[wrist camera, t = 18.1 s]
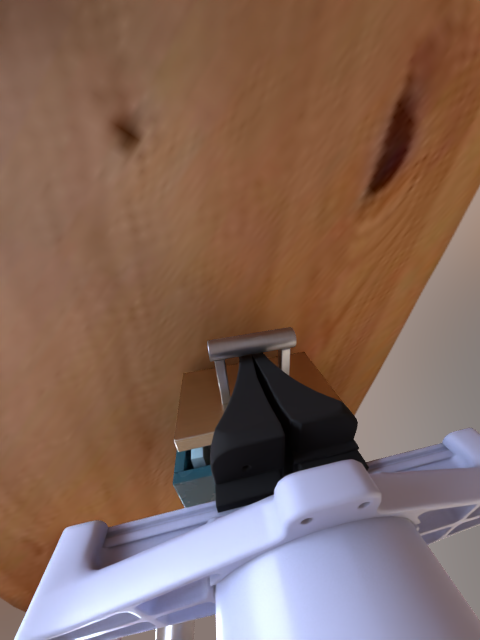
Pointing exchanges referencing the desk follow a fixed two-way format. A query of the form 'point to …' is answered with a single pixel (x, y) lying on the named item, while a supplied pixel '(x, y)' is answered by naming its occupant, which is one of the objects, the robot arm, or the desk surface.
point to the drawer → (218, 384)
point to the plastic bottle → (176, 631)
